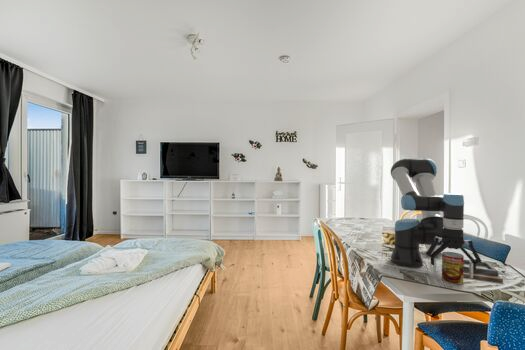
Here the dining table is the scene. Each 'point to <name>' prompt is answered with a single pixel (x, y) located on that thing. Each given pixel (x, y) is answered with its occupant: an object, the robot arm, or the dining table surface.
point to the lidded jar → (434, 249)
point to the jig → (482, 271)
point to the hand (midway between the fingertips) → (452, 274)
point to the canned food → (452, 267)
